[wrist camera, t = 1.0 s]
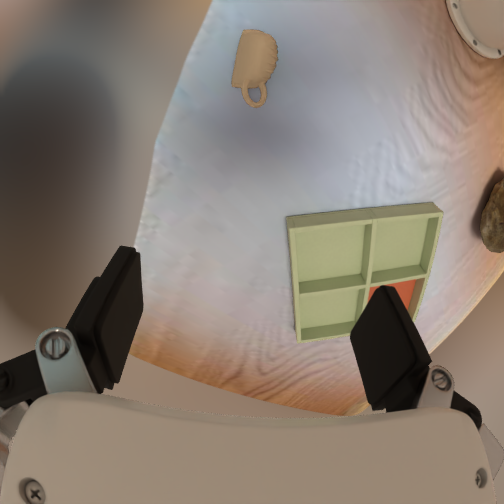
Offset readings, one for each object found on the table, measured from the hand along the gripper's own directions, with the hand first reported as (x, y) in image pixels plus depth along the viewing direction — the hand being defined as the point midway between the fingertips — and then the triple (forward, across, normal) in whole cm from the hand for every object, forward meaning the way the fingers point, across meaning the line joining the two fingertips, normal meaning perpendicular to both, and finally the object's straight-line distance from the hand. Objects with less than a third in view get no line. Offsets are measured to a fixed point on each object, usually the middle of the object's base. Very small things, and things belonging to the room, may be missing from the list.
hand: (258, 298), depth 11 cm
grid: (+24, -19, +14) cm, 33 cm away
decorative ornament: (+24, +2, -10) cm, 26 cm away
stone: (+24, -40, -3) cm, 46 cm away
